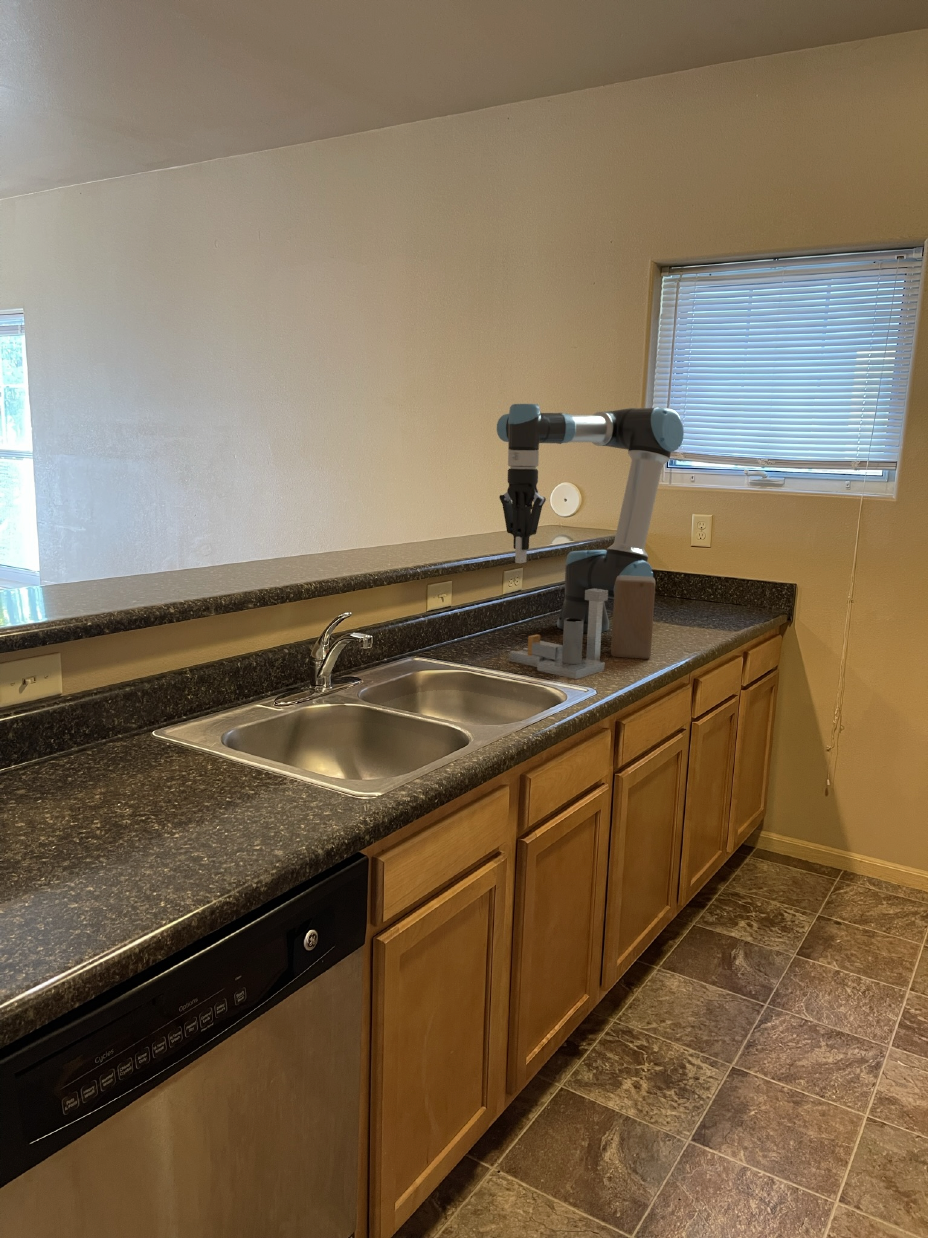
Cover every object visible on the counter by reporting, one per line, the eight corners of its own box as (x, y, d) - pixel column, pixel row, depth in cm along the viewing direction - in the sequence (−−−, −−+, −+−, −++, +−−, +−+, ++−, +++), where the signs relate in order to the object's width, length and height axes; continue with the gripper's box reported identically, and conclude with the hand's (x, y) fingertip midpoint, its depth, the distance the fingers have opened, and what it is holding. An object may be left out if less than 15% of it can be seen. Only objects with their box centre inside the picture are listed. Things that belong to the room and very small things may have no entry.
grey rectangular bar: (535, 651, 226) (536, 634, 225) (563, 657, 221) (564, 639, 220) (527, 654, 224) (528, 636, 223) (555, 659, 218) (555, 641, 218)
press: (544, 652, 237) (547, 581, 233) (616, 666, 223) (620, 592, 220) (502, 662, 224) (505, 588, 220) (576, 679, 210) (580, 600, 206)
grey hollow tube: (565, 659, 221) (567, 617, 219) (583, 661, 219) (585, 619, 217) (559, 663, 216) (561, 620, 214) (578, 665, 215) (580, 622, 213)
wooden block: (650, 660, 231) (655, 581, 227) (610, 657, 233) (614, 579, 229) (650, 651, 241) (655, 576, 237) (612, 649, 242) (616, 574, 239)
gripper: (492, 467, 227) (491, 561, 232) (535, 468, 219) (532, 566, 224) (511, 466, 233) (509, 558, 238) (553, 468, 225) (550, 563, 229)
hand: (520, 562), depth 231 cm, fingers closed
